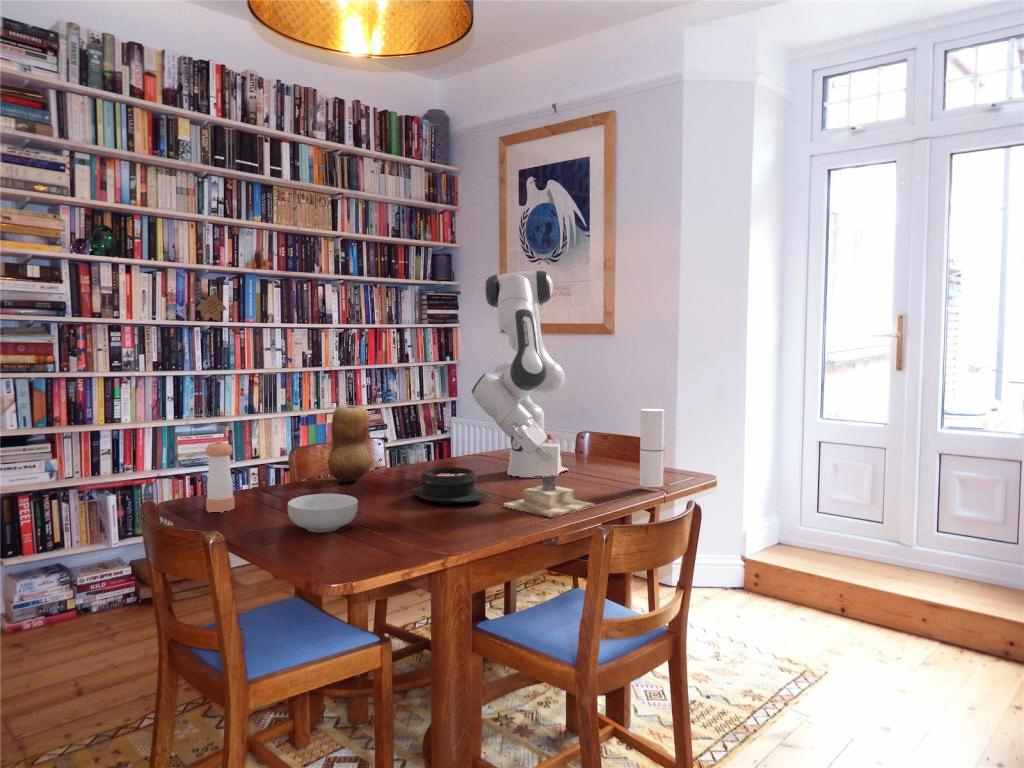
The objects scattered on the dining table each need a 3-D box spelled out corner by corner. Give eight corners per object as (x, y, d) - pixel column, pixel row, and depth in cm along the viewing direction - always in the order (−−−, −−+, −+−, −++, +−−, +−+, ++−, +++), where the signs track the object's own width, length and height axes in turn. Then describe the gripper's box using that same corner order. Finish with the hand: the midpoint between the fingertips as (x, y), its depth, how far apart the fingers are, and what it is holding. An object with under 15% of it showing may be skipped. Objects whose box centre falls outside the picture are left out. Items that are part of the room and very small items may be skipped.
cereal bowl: (292, 540, 175) (292, 511, 174) (284, 524, 190) (283, 496, 189) (364, 533, 181) (364, 504, 181) (350, 517, 197) (350, 491, 196)
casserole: (395, 499, 219) (395, 471, 218) (440, 489, 233) (439, 462, 232) (457, 512, 203) (457, 481, 202) (501, 500, 217) (501, 472, 217)
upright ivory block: (540, 471, 211) (540, 443, 211) (559, 472, 210) (560, 443, 210) (537, 474, 206) (537, 446, 205) (557, 475, 205) (557, 446, 204)
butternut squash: (361, 486, 236) (360, 408, 234) (321, 484, 238) (320, 407, 237) (376, 478, 250) (375, 404, 248) (338, 476, 252) (337, 403, 250)
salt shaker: (221, 513, 200) (220, 443, 199) (200, 511, 203) (198, 441, 201) (240, 507, 207) (238, 439, 206) (219, 505, 209) (217, 438, 208)
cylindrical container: (637, 490, 231) (638, 410, 230) (642, 486, 238) (643, 408, 236) (660, 492, 229) (661, 411, 227) (664, 487, 235) (666, 409, 234)
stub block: (546, 497, 221) (547, 468, 221) (594, 507, 209) (594, 477, 208) (503, 507, 209) (503, 477, 208) (551, 518, 196) (551, 486, 195)
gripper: (518, 418, 198) (554, 456, 197) (530, 411, 218) (563, 445, 217) (501, 434, 199) (537, 472, 198) (515, 425, 219) (547, 459, 218)
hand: (551, 458), depth 208 cm, fingers closed on upright ivory block, 6 cm apart
